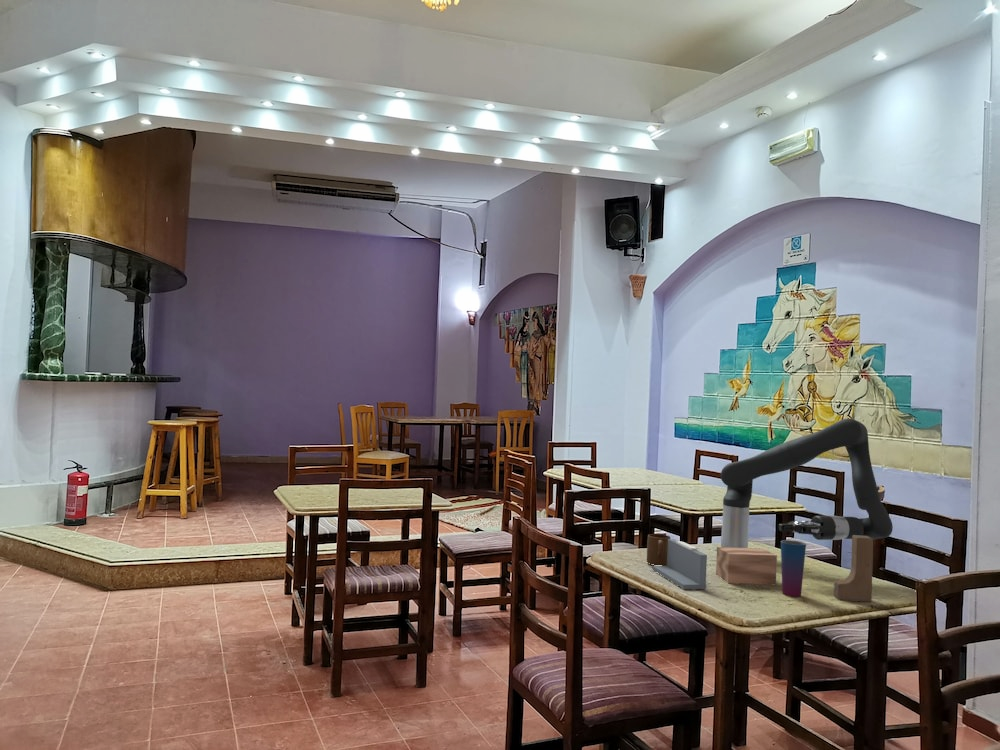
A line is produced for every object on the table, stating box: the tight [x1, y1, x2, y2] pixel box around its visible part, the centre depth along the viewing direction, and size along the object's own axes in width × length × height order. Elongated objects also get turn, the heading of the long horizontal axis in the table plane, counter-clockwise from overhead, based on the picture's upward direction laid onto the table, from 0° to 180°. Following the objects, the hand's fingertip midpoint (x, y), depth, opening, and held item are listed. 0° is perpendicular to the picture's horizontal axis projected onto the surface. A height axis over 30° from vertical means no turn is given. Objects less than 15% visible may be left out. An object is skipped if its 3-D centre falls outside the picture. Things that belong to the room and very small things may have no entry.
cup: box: [780, 539, 807, 598], centre depth 210 cm, size 7×7×15 cm
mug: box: [646, 533, 671, 566], centre depth 239 cm, size 12×8×9 cm, turn 173°
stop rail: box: [651, 538, 708, 590], centre depth 221 cm, size 23×7×11 cm, turn 11°
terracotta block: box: [715, 546, 778, 585], centre depth 225 cm, size 10×15×9 cm, turn 94°
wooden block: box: [833, 535, 874, 603], centre depth 208 cm, size 9×4×18 cm, turn 82°
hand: (780, 527), depth 228 cm, fingers closed
